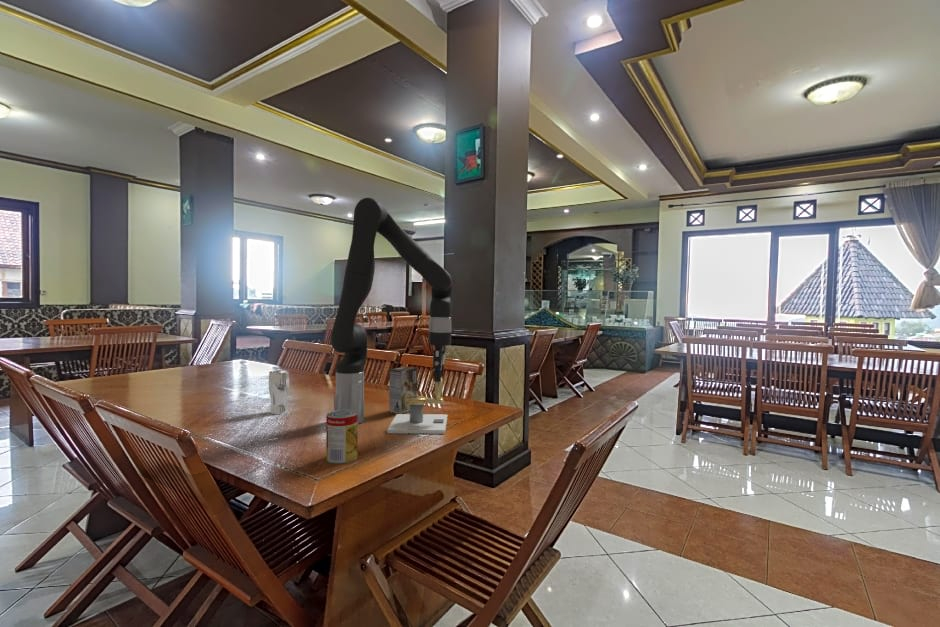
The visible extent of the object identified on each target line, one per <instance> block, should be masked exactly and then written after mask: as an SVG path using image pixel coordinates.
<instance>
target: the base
mask: <svg viewBox="0 0 940 627" xmlns="http://www.w3.org/2000/svg"><path fill="white" fill-rule="evenodd" d="M447 417H448V414H440V413H439V414H437V413H436V414H433V413H432V414H431V413H429V414H428V413H426V414H425V413H424V404H423V405H410V412H409V413H404V414H397V413H396V414H395V416H394V417H393V419H392V421H391V422H390V424H389V426H388V428H387V431H386V432H387V434H408V433H410V435H411V434H412V433H413V434H414V433H415V434H416V435H417V433H418V434H420V433H421V434H423V433H424V434H423V435H431V434H432V435H445V434H446V433H445V432H446V429H447V423H448V418H447ZM426 433H427V434H426ZM415 434H414V435H415Z"/></svg>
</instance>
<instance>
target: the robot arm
mask: <svg viewBox="0 0 940 627" xmlns="http://www.w3.org/2000/svg"><path fill="white" fill-rule="evenodd" d="M377 233H378V234H380V236H382V237H383V238H385V239H386V240H387V242H388V243H389V244H391V246H392V247H393V248H394V250H396V252H397V253H398V254H399V256H400V257H401V258H402V259H403V261H405V262H406V263H407V264H408V265H409V266H410V267H411V268H412V269H413V270H415V272H417V274H419V275H420V276H421V277H422V278H423V280H424V281H425V282H426V283H427V284H428V285H429V286H430V287H431V300H430V306H429V320H428V345H430V346H434V349H433V351H432V354H433V355H432V357H433V358H432V369H433V371H434V372H433V381H434V383H435V382H440V381H441V378H443V377H444V375H445V374H444V373H445V363H446V359H447V358H446V355H447V350H446V349H447V348H446V346H451V344H452V302H451V301H452V292H453V291H452V290H453V278H452V276H451V274H450V273H449V272H448V271H447V270H446V269H445V268H444V267H443V266H441V265H440V264H439V263H438V262H436V261H435V259H434V258H433V257H432V256H431V254H430V253H429V252H428V251H427V250H425V249H424V248H423V247H422V246H421V245H420V244H419V243H418V242H417V241H416V240H414V239H413V238H412V237H411V236H410V235H409V234H408V233H407V232H406V231H405V230H404V229H403V228H402V227H401V226H400V225H399V224H398V222H396V220H395V219H394V217H393V216H392V215H391V214H390V212H389V211H388V209H387V208H386V206H385V205H384V204H383V203H382V202H381V201H379V200H377V199H375V198H372V197H364V198H362V199H360V200H359V201H358V202H357V203H356V205H355V207H354V210H353V221H352V237H351V243H350V246H349V251H348V257H347V262H346V267H345V271H344V277H343V282H342V289H341V294H340V299H339V303H338V308H337V312H336V316H335V319H334V323H333V325H332V329H331V335H330V344H331V346H332V348H333V350H334V351H335V352H337V353H343V357H342V358H341V359H340V360H339V361H338V362H336V365H335V394H334V395H333V411H334V410H342V409H349V410H355V411H357V413H358V418H357V425H359V424H361V423H363V422H364V421H365V366H366V363H367V357H368V334H367V330H366V329H365V327H364V326H362V325H361V324H358V323H356V318H357V316H358V312H359V310H360V308H361V306H362V305H363V304H364V302H365V301H366V300H367V298H368V296H369V295H370V292H371V290H372V286H373V283H374V277H375V276H374V275H375V268H376V267H375V266H376V262H375V241H376V240H375V239H376V236H377Z"/></svg>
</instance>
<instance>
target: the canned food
mask: <svg viewBox="0 0 940 627" xmlns="http://www.w3.org/2000/svg"><path fill="white" fill-rule="evenodd" d="M325 416H326V419H325V420H326V422H325V424H326V433H325V434H326V461H327V462H328V463H331V464H337V465H338V464H339V465H340V464H348V463H350V462H353V461H356V460H357V458H358V424H357V418H358V413H357V411H355V410H349V409H342V410H334V409H333V410H331V411H328V412H327V413H326V415H325Z"/></svg>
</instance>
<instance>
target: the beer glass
mask: <svg viewBox="0 0 940 627" xmlns="http://www.w3.org/2000/svg"><path fill="white" fill-rule="evenodd" d="M289 390H290V371H289V370H287V369H278V370H271V371H269V372H268V392H269V396H270V397H269V398H270V403H271V404H270V411H269V414H271V415H284V414H287V413H288V412H289V409H288V408H289V407H288V396H289Z"/></svg>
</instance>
